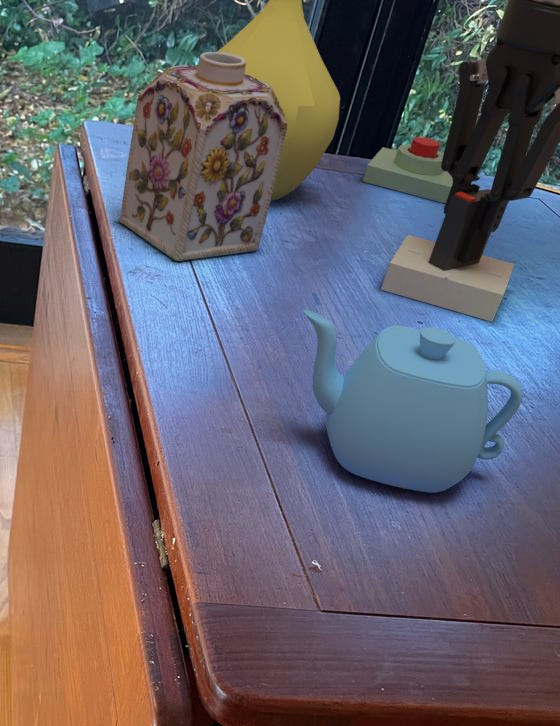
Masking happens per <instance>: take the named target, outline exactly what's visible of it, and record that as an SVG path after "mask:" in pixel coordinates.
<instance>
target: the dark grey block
mask: <svg viewBox="0 0 560 726" xmlns="http://www.w3.org/2000/svg"><path fill="white" fill-rule="evenodd" d="M490 191H491V189H489V188H487V189H481V190H480V189H479V191H474V192H468V193H464V192H457V193H456V194H455V195H452V198H451V201H450V204H449V206H448V209H447V212H446V214H444V218H443V221H442V223H441V226H440V229H439V231H438V235H437V237H436V240H435V241H434V242H435V245H434V248H433V251H432V254H431V256H430V259H429V263H431V264H432V265H434V266H436V267H438V268H440V269H442V270H449V269H453V268H458V267H462V266H467V265H471V264H476V263H479V261H480V259H481V256H482V255H483V253H484V251H485V249H486V247H487V244H488V241H489V239H490V236H491V233H492V232H491V233H489V234H488V236H487V239H486V241H485V244H484V246H483V249H482V251H481V254H480V257H479V259H478V260H474V261H469V262H465V263H462V262H460V261H458V260H457V259H458V256H459V254H460V251H461V248H462V246H463V243H464V240H465V238H466V235H467V233H468V230H469V227H470V225H471V222H472V219H473V217H474V214H475V212H476V209H477V206H478V204H479V201H480V198H481V197H483V196H485V194H487V193H490Z"/></svg>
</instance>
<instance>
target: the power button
mask: <svg viewBox="0 0 560 726" xmlns="http://www.w3.org/2000/svg"><path fill="white" fill-rule="evenodd" d="M410 144H411V147H410V150H409V152H410V153H412V154H414V155H417V156H421V157H424V158H436V155H437V152H438V151H439V150H440V146H441V143H440V142H439V141H438V140H435V139H433V138H429V137H425V136H415V137H413V138H412V140H411V143H410Z"/></svg>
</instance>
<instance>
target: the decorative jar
mask: <svg viewBox="0 0 560 726" xmlns="http://www.w3.org/2000/svg"><path fill="white" fill-rule="evenodd" d="M245 67H246V61H245V59H243V58H242V57H240V56H237V55H233V54H229V53H223V52H218V51H206V52H203V53H201V54H200V55H199V58H198V65H191V64H188V65H185V64H184V65H183V64H181V65H172V66H170V67H168V68H167V69H165V70H164V71H163V72H161V73H160V74H158V75H157V76H155V77H154V78H153V79H152V81H151V82H150V83H149V84H147V85H146V86H145V87H144V89H143V90H142V91H141V92H140V93H139V94H138V96H137V100H136V108H135V113H134V121H133V126H132V133H131V138H130V139H131V140H130V144H129V145H130V146H129V151H128V157H127V165H126V171H125V179H124V186H123V192H122V202H121V210H120V217H119V222H120V223H121V224H122V225H124V226H125V227H127V228H129V229H130V230H131V231H132V232H134V233H135V234H137V235H138V236H139V237H141V238H142V239H144V240H145V241H147V242H148V243H150V244H151V245H152V246H153V247H155V248H156V249H158V250H159V251H161V252H162V253H163V254H165V255H167V257H169V258H171V259H172V260H173V261H176V262H182V261H188V260H196V259H203V258H210V257H211V258H212V257H218V256H219V257H220V256H226V255H227V256H229V255H236V254H244V253H250V252H255V251H257V250H258V249H259V247H260V244H261V241H262V236H263V231H264V228H265V225H266V222H267V217H268V213H269V209H270V205H271V202H272V201H271V197H272V192H273V188H274V184H275V179H276V175H277V171H278V167H279V162H280V157H281V153H282V148H283V144H284V140H285V135H286V132H287V126H288V125H287V121H286V119H285V115H284V112H283V109H282V108H281V106H280V103H279V101H278V98H277V97H276V95H275V92H274V90H273V88H272V86H270V85H268V84H266V83H264V82H262V81H260V80H258V79H256V78H254V77H251V76H249V75H246V74H244V73H245Z"/></svg>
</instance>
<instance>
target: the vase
mask: <svg viewBox="0 0 560 726" xmlns="http://www.w3.org/2000/svg"><path fill="white" fill-rule="evenodd" d="M302 2H303V0H268V1H267V3H266V4H265V6H264V7H263V8H262V10H261V11H260V12H259V13H258V14H257V15H256V16H255V17H254V18H253V19H252V20H250V22H249V23H247V25H245V26H244V27H243V28H242V29H241V30H240V31H239V32H238V33H237V34H235V36H234V37H232V38H231V39H230V40H229V41H228V42H227V43H226V44H225V45H223V46H222V47H221V48H220V49H218V50H217V52H223V53H229V54H233V55H237V56H240V57H242V58H243V59H245V61H246V67H245V73H244V74H246V75H249V76H251V77H254V78H256V79H258V80H260V81H262V82H264V83H266V84H268V85H270V86H272V88H273V90H274V92H275V95H276V97H277V98H278V101H279V103H280V106H281V108H282V109H283V112H284V115H285V119H286V121H287V125H288V126H287V132H286V135H285V140H284V144H283V148H282V153H281V157H280V162H279V167H278V171H277V175H276V179H275V184H274V188H273V192H272V197H271V201H270V202H272V201H278V200H279V199H282V198H284V197H285V196H287V195H289V193H292V192H293V191H294V190H296V189H297V188H298V187H299V186H300V185H301V184H302V183H303V182H304V181H305V180H306V179H307V178H308V177H309V176H310V175H311V174H312V173H313V171H314V170H315V168H316V167H317V165H318V164H319V162H320V161H321V159H322V157H323V156H324V154H325V152H326V151H327V149H328V147H329V146H330V144H331V143H332V140H333V139H334V136H335V133H336V131H337V130H336V129H337V127H338V122H339V121H340V120H339V118H340V107H341V103H340V102H341V95H340V92H339V90H338V88H337V86H336V84H335V82H334V80H333V78H332V76H331V75H330V72H329V70H328V69H327V66H326V65H325V63H324V61H323V59H322V57H321V55H320V52H319V50H318V48H317V45H316V43H315V41H314V38H313V35H312V34H311V31H310V29H309V27H308V24H307V22H306V20H305V16H304V9H303V3H302Z"/></svg>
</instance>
